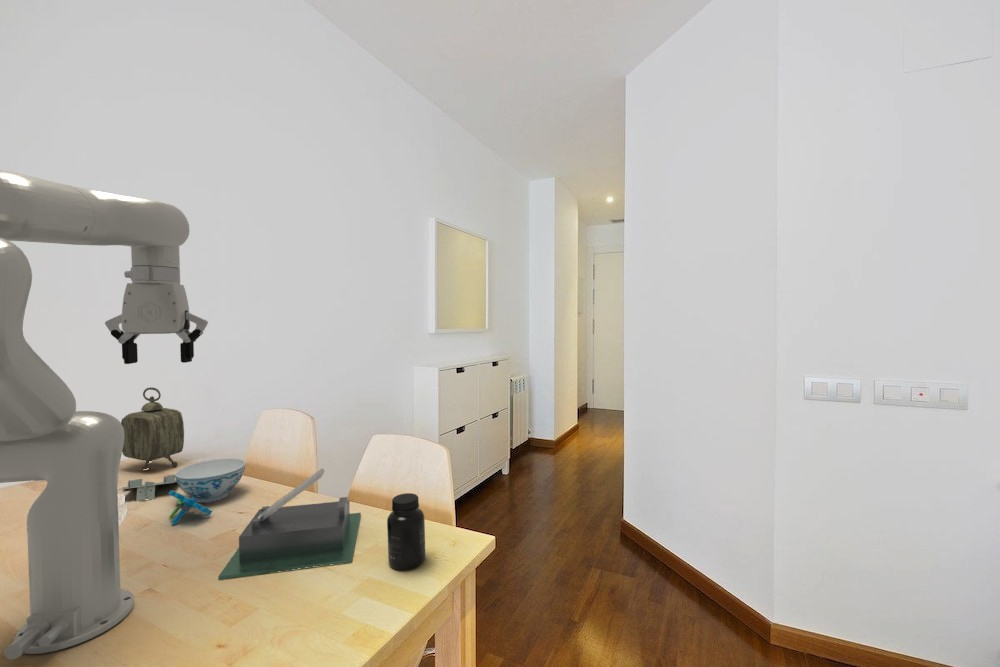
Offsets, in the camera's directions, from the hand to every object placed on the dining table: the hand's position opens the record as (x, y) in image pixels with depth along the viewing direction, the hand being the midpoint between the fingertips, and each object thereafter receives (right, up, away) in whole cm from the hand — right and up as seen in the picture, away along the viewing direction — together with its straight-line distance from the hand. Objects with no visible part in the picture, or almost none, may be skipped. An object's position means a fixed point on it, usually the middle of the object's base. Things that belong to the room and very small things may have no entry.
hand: (159, 362), depth 86 cm
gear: (-2, -37, +12) cm, 39 cm away
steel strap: (+27, -27, 0) cm, 38 cm away
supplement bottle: (+51, -37, -6) cm, 63 cm away
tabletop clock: (-38, -36, +45) cm, 69 cm away
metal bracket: (-24, -37, +28) cm, 52 cm away
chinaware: (-5, -36, +24) cm, 44 cm away
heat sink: (+28, -37, +1) cm, 46 cm away
